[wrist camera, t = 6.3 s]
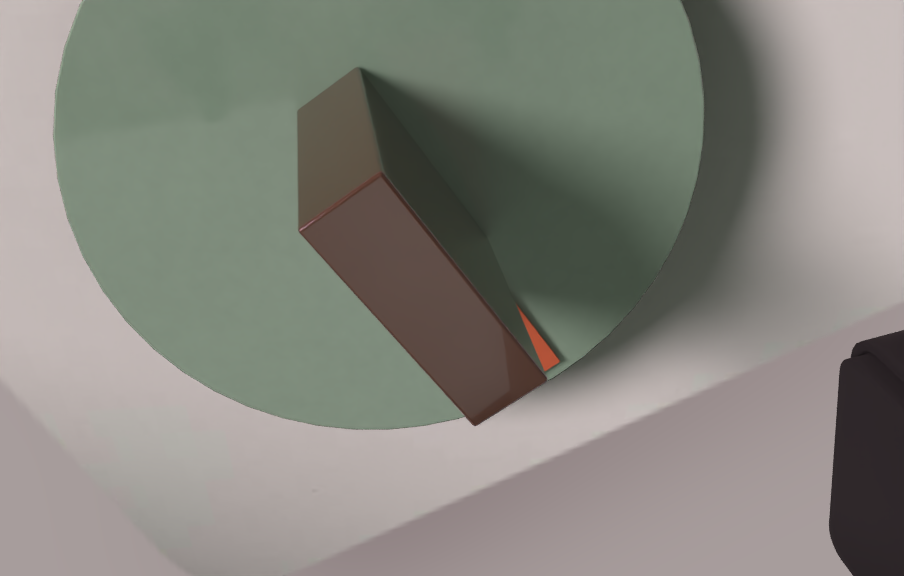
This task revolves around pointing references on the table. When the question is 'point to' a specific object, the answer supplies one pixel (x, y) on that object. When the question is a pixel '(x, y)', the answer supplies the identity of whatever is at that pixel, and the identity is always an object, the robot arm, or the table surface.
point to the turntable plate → (473, 97)
